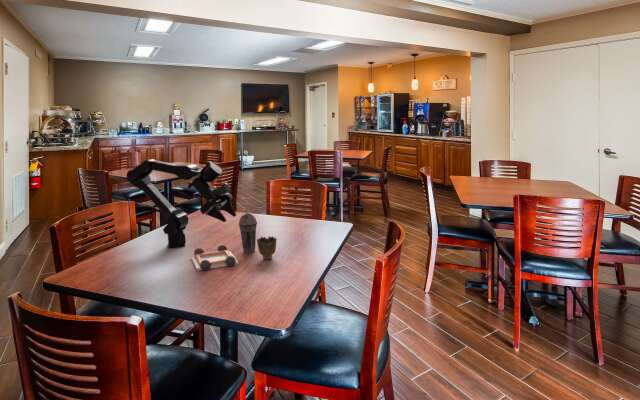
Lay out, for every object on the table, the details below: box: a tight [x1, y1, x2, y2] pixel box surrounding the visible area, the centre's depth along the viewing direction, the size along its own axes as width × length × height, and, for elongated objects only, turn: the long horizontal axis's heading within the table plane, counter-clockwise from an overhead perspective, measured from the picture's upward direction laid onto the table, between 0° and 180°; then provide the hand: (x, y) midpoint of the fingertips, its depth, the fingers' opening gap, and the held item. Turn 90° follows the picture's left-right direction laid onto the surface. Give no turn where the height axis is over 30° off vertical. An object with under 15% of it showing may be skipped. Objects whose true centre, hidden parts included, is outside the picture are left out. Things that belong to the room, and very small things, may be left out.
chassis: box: [190, 244, 240, 271], centre depth 158 cm, size 15×16×4 cm
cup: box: [256, 235, 277, 261], centre depth 160 cm, size 8×7×8 cm
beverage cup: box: [238, 203, 258, 254], centre depth 168 cm, size 7×7×20 cm
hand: (230, 218), depth 170 cm, fingers open, 9 cm apart
